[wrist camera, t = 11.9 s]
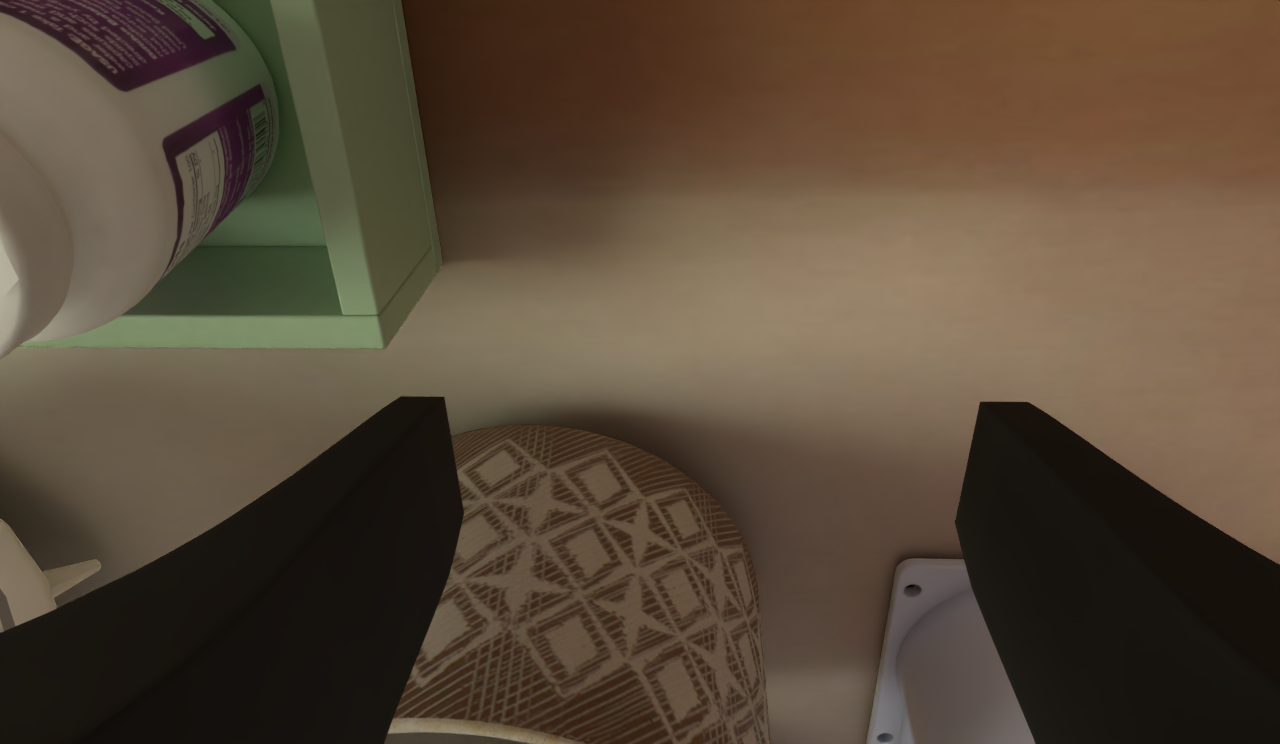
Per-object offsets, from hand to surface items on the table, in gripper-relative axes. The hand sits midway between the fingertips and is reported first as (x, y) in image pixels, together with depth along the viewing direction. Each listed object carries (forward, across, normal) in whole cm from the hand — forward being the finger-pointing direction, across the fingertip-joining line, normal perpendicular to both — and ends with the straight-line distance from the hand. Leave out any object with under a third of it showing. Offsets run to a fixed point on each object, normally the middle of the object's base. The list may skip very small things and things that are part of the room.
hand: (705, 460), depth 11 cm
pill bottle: (+10, +12, -3) cm, 16 cm away
